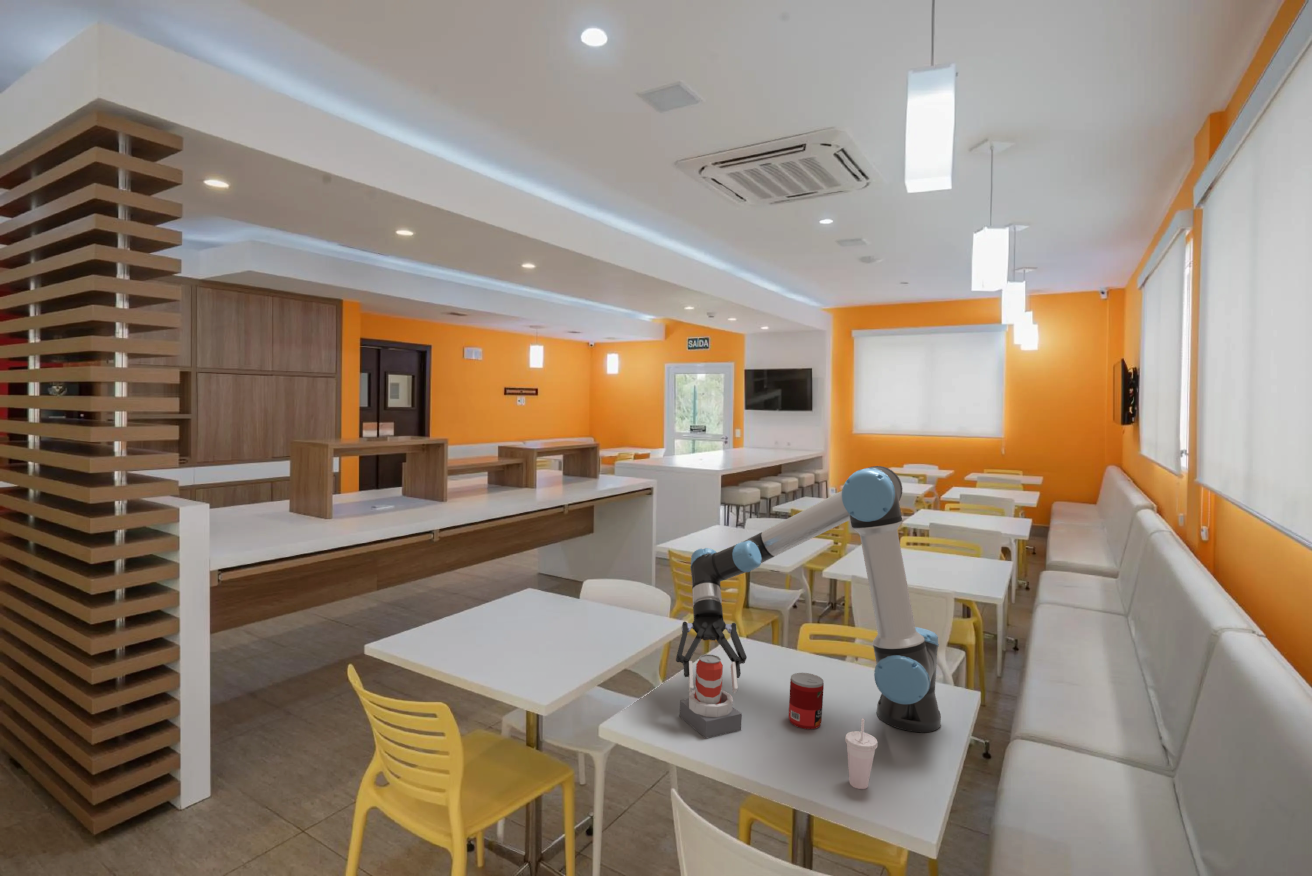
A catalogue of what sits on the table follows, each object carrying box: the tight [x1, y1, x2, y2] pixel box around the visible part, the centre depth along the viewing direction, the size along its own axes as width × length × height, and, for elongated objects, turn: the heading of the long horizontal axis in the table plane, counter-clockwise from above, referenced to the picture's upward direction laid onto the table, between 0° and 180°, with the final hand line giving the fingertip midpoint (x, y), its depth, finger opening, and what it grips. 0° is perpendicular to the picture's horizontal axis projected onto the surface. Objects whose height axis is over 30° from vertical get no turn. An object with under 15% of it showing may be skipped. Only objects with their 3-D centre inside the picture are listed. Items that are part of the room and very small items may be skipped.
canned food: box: [788, 672, 825, 730], centre depth 166 cm, size 8×8×11 cm
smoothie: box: [844, 718, 878, 790], centre depth 140 cm, size 6×6×14 cm
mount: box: [678, 689, 743, 739], centre depth 164 cm, size 12×10×6 cm
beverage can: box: [694, 654, 724, 704], centre depth 163 cm, size 6×6×12 cm
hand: (713, 690), depth 160 cm, fingers open, 10 cm apart
